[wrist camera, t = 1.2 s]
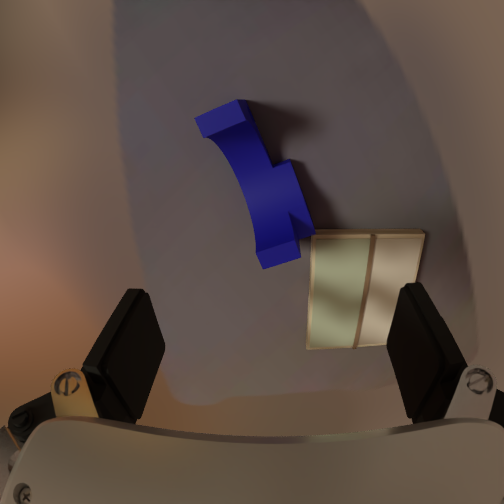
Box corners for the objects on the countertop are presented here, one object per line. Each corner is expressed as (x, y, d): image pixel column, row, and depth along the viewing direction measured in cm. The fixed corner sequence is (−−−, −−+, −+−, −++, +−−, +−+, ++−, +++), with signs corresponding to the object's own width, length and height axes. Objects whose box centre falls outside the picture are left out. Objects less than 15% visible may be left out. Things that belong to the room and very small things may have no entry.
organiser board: (311, 229, 28) (313, 236, 26) (420, 228, 27) (426, 235, 25) (305, 342, 34) (306, 351, 33) (395, 336, 33) (398, 345, 32)
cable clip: (312, 220, 28) (320, 251, 22) (265, 235, 29) (263, 269, 23) (262, 93, 23) (258, 90, 17) (212, 113, 24) (194, 118, 18)
